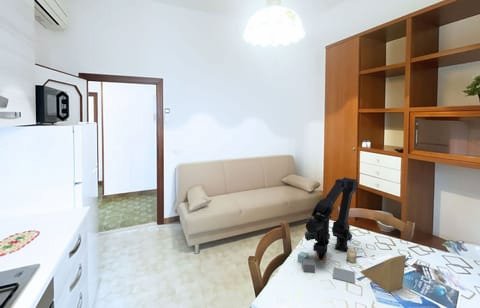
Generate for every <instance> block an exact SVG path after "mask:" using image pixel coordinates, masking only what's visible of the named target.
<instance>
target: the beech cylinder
mask: <svg viewBox="0 0 480 308" xmlns="http://www.w3.org/2000/svg"><path fill="white" fill-rule="evenodd" d="M346 261H347V263H350V264H356V263H357V251H356V250H354V249H349V248H348V250H347V251H346Z"/></svg>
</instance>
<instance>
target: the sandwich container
mask: <svg viewBox="0 0 480 308" xmlns="http://www.w3.org/2000/svg"><path fill="white" fill-rule="evenodd" d="M406 260H407V256H406V254H402V255H397V256H393V257H390V258H388V259H386V260H383V261H382V262H380V263H377V264H375V265H373V266H370V267H368V268H365V269H363V270H361V271H359V272H360V274H362V275H363V276H365V277H366V278H368V279H369V280H370V281H371V282H373V283H374V284H376V285H377V286H379V287H380V288H382V289H383V290H384V291H386V292H387V293H391V292H394V291H398V290H401V289H403V287H404V286H403V285H404V276H405V268H406Z"/></svg>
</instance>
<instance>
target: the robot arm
mask: <svg viewBox="0 0 480 308" xmlns="http://www.w3.org/2000/svg"><path fill="white" fill-rule="evenodd" d="M358 187H359V181H358V180H357V179H356V178H352V177H343V178H337V179H336V180H335V182H334V184H333V186H332V187H331V189H330V190H329V192H328V193H327V195H326V196H325V197H324V198H321V199H320V200H319V201H318V202H317V203H316V204H315V206H314V209H313V210H312V211H313V212H312V213H311V218H309V220H308V221H307V222H306V224H305V229H306V231H305V233H304V239H305V240H306V241H313V240H314V241H315V242H314V244H313V247H312V250H313V252H316V251H317V252H318V255H319V259H320V260H322V259H323V257H324V255H325V253H326V254H327V253H328V248H329V247H328V245H329V243H330V238H331V233H330V220H331V219H332V218H333V217H332V216H331V215H332V214H333V212H334V210H335V208H334V205H335V202H337V200H338V198H339V196H340V195H341V194H342V195H341V201H340V205H339V212H338V217H337V219H336V220H335V221H333V223H332V227H331V231H332V237H335V238H336V242H335V246H334V250H336V251H341V252H343V251H344V252H347V250H349V245H348V242H349V241H350V242H351V240H352V238H353V234H352V232H350V224H349V222H348V221H349V213H350V208H351V203H352V198H353V195H354V194H355V193H356V192H357V189H358Z"/></svg>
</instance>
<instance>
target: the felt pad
mask: <svg viewBox="0 0 480 308" xmlns="http://www.w3.org/2000/svg"><path fill="white" fill-rule="evenodd" d="M332 272H333V273H332V279H333V280H337V281H341V282H346V283H349V284H353V285H356V276H355V275H356V272H355V271H352V270H348V269H344V268H343V269H342V268H339V267H333V271H332Z"/></svg>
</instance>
